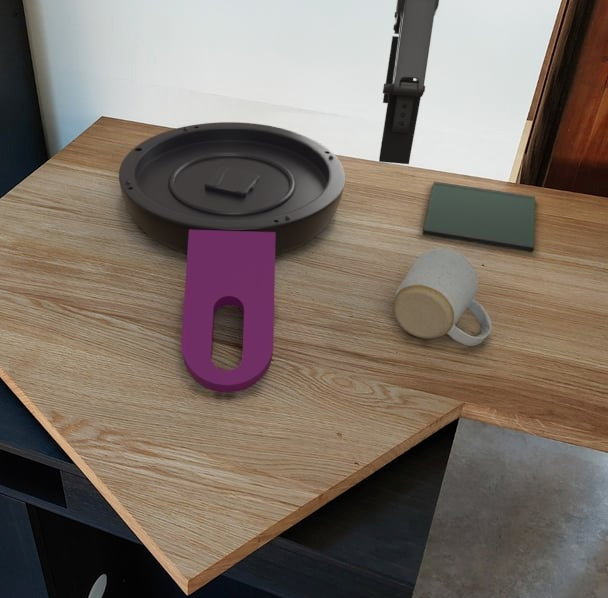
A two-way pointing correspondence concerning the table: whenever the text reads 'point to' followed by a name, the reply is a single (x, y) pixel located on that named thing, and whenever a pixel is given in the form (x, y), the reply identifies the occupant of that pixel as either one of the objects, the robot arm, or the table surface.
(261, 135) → the round tray
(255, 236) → the mounting bracket
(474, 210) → the mat
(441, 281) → the ceramic mug
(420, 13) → the robot arm
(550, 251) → the table surface
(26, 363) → the table surface
